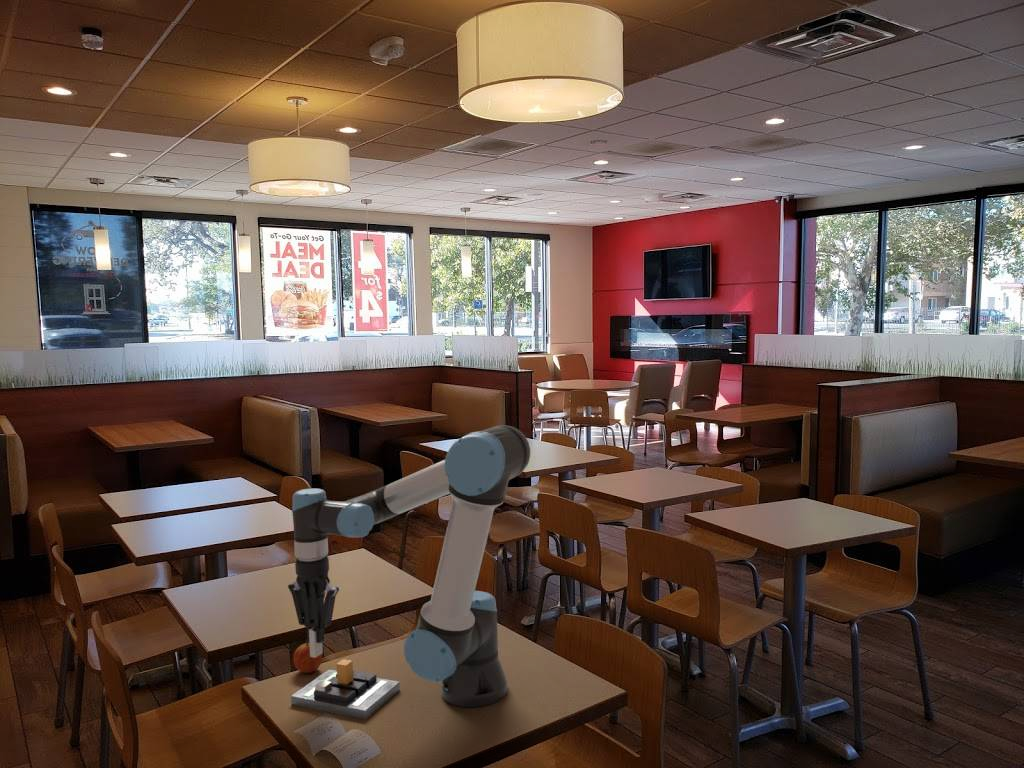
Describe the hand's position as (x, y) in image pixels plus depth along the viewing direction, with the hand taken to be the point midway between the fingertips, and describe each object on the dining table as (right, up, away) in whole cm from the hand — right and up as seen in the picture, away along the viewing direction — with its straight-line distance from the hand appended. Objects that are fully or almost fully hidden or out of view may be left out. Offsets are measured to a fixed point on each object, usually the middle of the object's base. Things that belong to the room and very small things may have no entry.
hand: (316, 654), depth 175 cm
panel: (+8, -9, -2) cm, 12 cm away
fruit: (-5, -9, +12) cm, 15 cm away
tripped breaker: (+7, -5, -3) cm, 9 cm away
